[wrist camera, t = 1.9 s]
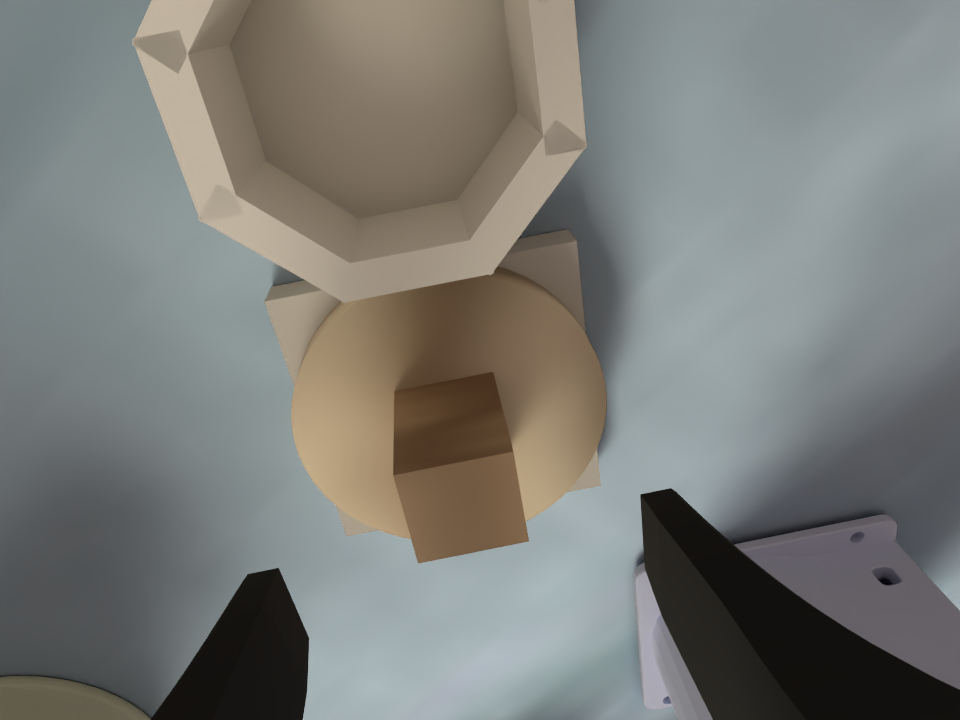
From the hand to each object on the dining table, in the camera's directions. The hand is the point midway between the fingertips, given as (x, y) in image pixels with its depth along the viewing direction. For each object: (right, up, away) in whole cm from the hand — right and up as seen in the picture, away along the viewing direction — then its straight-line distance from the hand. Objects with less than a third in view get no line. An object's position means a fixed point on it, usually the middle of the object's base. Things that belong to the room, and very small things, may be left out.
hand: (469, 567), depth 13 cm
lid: (-1, +3, +5) cm, 6 cm away
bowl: (-2, +11, +2) cm, 11 cm away
